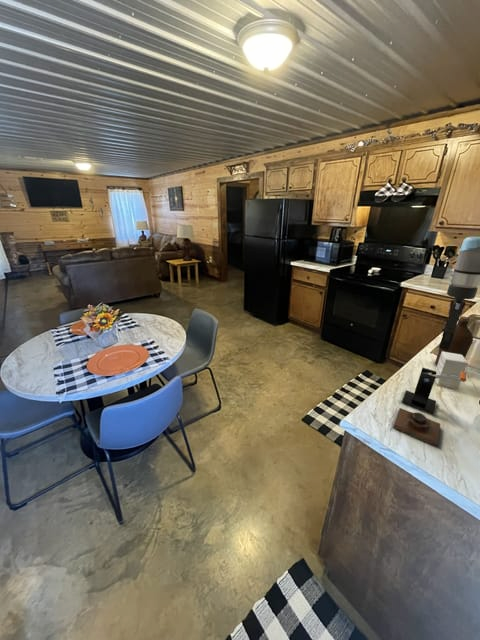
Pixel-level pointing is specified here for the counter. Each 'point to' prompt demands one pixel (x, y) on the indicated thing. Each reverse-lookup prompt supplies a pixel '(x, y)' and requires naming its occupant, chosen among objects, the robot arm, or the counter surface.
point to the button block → (417, 427)
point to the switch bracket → (422, 393)
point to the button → (419, 418)
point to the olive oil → (459, 339)
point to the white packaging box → (450, 368)
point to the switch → (450, 376)
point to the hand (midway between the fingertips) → (445, 342)
